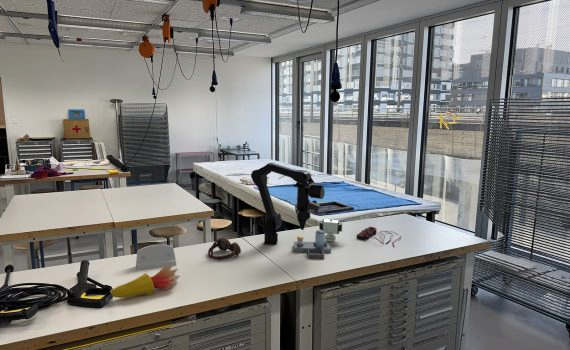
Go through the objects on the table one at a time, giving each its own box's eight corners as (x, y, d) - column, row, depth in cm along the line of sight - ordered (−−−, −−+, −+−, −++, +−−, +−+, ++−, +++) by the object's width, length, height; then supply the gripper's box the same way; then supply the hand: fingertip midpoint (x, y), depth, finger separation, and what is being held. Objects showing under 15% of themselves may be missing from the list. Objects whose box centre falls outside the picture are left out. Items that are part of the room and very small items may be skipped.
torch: (114, 309, 135) (181, 283, 150) (118, 308, 129) (187, 281, 144) (107, 287, 137) (174, 263, 151) (111, 284, 130) (180, 260, 145)
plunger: (296, 245, 189) (297, 238, 188) (296, 243, 192) (296, 236, 191) (303, 245, 189) (303, 238, 188) (303, 243, 192) (303, 236, 191)
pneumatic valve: (340, 243, 200) (341, 221, 198) (318, 241, 203) (319, 219, 201) (342, 239, 205) (342, 218, 203) (320, 237, 208) (321, 216, 206)
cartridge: (315, 250, 188) (316, 233, 187) (314, 247, 193) (315, 230, 192) (325, 250, 188) (325, 233, 187) (324, 247, 193) (324, 230, 192)
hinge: (136, 270, 160) (134, 246, 162) (135, 270, 164) (134, 247, 166) (177, 265, 166) (175, 242, 168) (175, 265, 171) (174, 242, 172)
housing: (294, 252, 186) (294, 248, 185) (293, 245, 195) (293, 241, 195) (331, 252, 186) (331, 248, 185) (328, 245, 196) (328, 242, 195)
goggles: (244, 255, 180) (240, 236, 176) (222, 268, 171) (218, 249, 168) (224, 247, 190) (220, 229, 187) (202, 259, 181) (198, 241, 178)
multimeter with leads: (351, 232, 205) (367, 222, 226) (351, 240, 206) (367, 229, 227) (394, 240, 193) (407, 228, 214) (394, 249, 194) (407, 236, 215)
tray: (308, 258, 178) (308, 254, 177) (307, 252, 185) (307, 249, 185) (324, 258, 178) (324, 254, 177) (322, 253, 185) (322, 249, 185)
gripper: (321, 201, 178) (320, 233, 181) (317, 193, 197) (315, 222, 199) (297, 200, 178) (296, 232, 180) (295, 192, 196) (294, 221, 199)
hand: (301, 227), depth 190 cm, fingers open, 9 cm apart
